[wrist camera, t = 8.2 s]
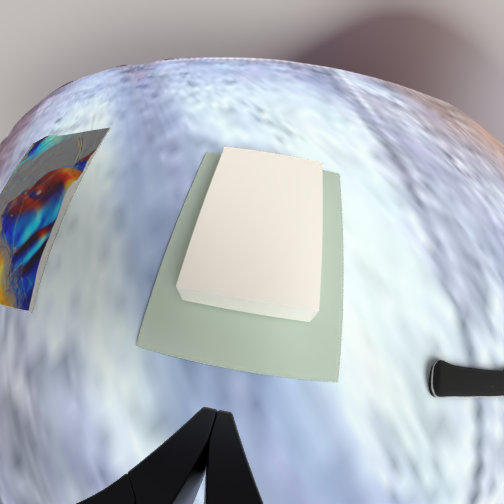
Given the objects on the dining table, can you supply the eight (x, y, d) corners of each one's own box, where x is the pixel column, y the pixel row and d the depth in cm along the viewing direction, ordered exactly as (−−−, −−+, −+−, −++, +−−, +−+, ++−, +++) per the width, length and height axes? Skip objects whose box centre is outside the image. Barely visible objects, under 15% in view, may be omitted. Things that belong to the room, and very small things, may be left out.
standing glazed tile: (319, 310, 16) (322, 162, 24) (175, 286, 17) (224, 146, 24) (308, 322, 19) (316, 181, 26) (183, 300, 19) (225, 167, 26)
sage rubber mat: (336, 382, 17) (337, 381, 16) (137, 346, 17) (135, 345, 17) (338, 175, 27) (339, 173, 27) (206, 154, 28) (206, 152, 27)
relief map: (35, 147, 30) (31, 138, 29) (111, 133, 31) (107, 121, 29) (-37, 295, 17) (-47, 288, 16) (36, 315, 18) (23, 307, 16)
